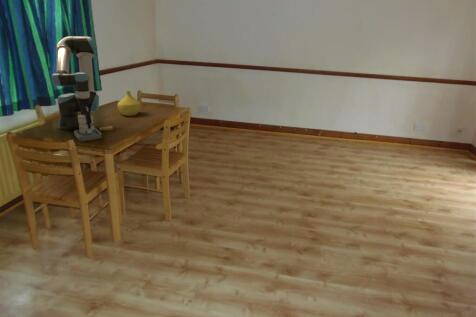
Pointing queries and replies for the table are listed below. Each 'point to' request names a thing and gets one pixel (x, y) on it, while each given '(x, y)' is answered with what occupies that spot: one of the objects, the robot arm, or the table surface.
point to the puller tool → (106, 128)
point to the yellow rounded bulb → (129, 105)
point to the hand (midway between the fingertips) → (87, 131)
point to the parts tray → (87, 135)
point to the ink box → (83, 124)
